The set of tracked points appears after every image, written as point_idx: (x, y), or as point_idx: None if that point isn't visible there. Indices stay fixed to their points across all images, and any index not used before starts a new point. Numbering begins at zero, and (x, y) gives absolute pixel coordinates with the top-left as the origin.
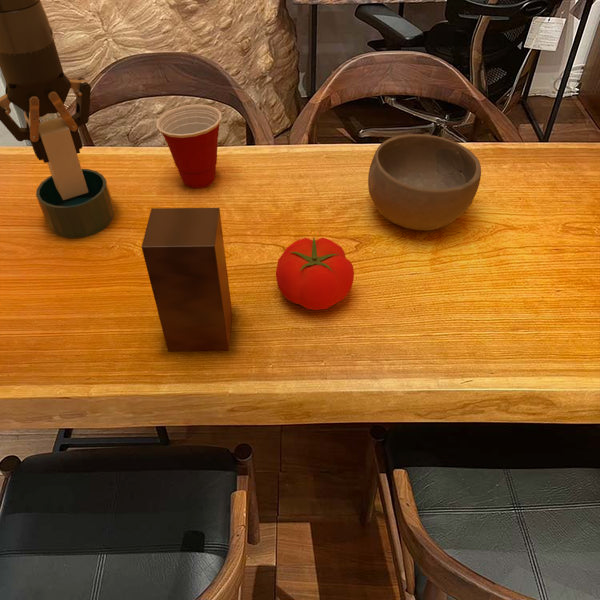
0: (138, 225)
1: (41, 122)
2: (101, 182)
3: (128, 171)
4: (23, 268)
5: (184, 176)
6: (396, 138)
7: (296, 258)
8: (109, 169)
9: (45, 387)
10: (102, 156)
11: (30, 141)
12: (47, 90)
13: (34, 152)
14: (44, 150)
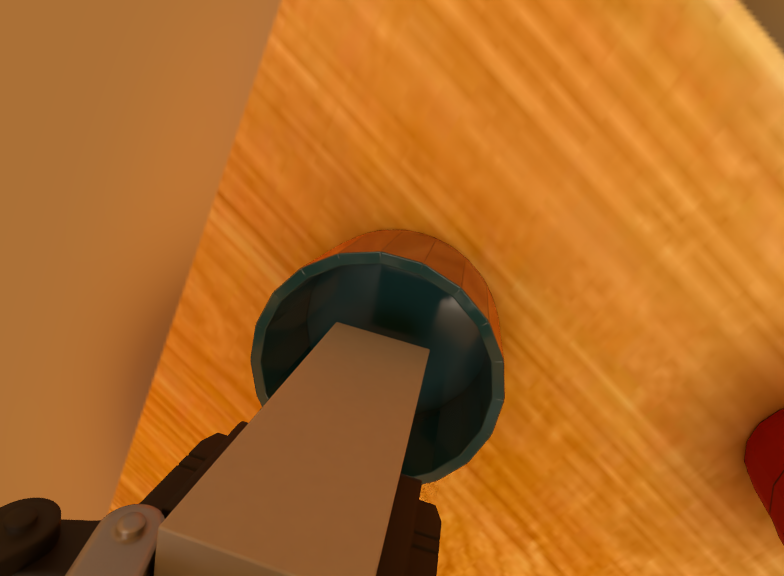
0: (490, 471)
1: (211, 550)
2: (490, 382)
3: (685, 220)
4: (194, 384)
5: (762, 487)
6: None
7: None
8: (646, 151)
9: None
10: (703, 30)
11: (150, 493)
12: None
13: (197, 445)
14: None
